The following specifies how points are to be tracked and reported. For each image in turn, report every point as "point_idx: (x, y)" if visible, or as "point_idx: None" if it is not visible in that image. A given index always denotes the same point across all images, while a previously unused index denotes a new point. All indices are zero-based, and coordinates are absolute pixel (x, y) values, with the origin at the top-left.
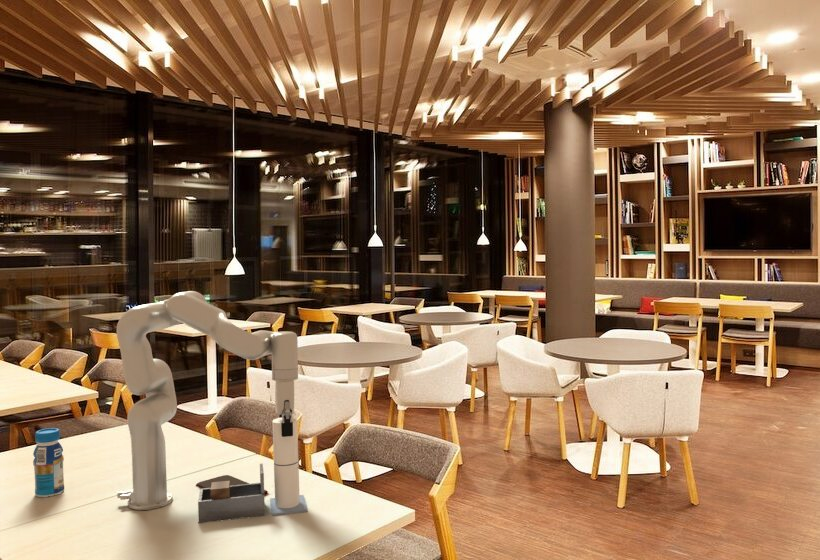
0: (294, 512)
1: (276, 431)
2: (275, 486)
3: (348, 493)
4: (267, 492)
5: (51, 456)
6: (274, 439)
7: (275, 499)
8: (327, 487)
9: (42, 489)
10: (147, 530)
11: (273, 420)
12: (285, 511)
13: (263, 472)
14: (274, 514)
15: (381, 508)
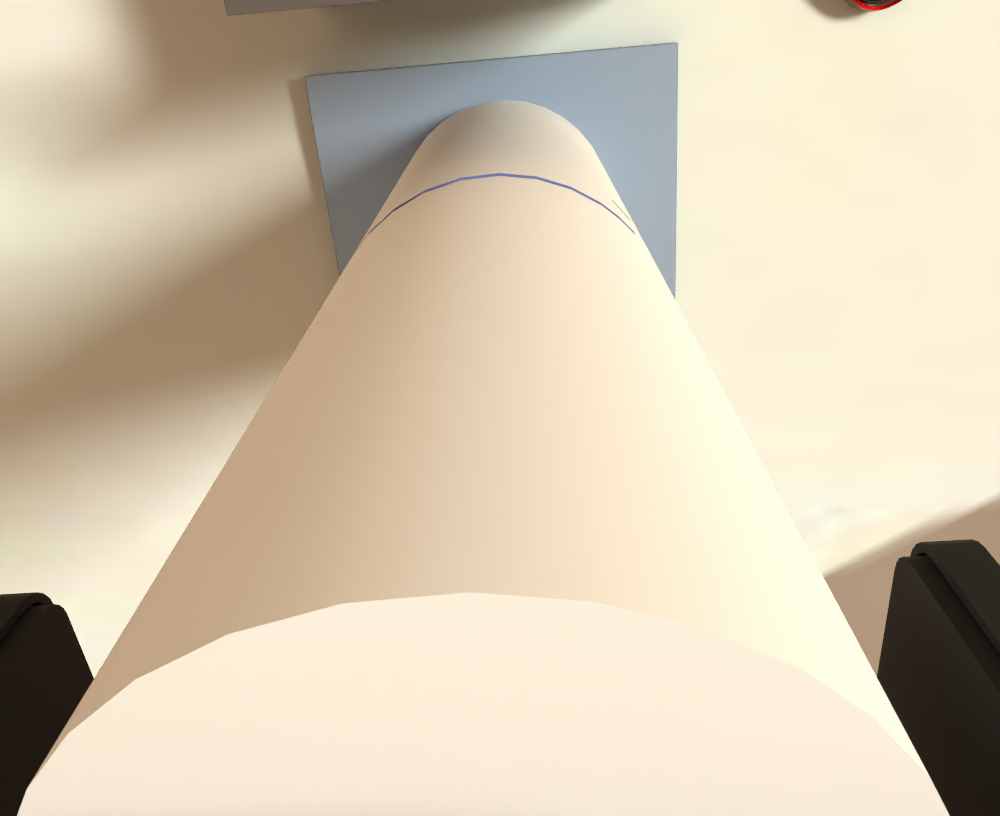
0: (340, 261)
1: (203, 513)
2: (450, 137)
3: None
4: (860, 8)
5: None
6: (339, 340)
7: (470, 113)
8: (812, 502)
9: None
10: None
11: (549, 633)
12: (339, 193)
13: (264, 10)
14: (308, 97)
15: None
